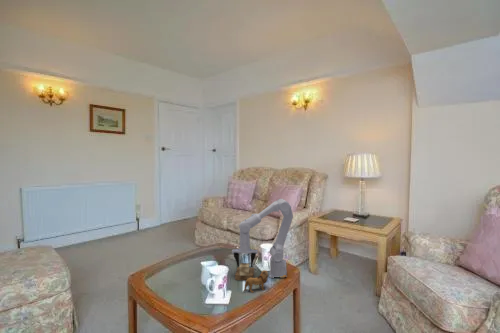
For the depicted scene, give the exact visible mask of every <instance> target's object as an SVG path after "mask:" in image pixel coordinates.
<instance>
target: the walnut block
mask: <svg viewBox="0 0 500 333" xmlns="http://www.w3.org/2000/svg"><path fill="white" fill-rule="evenodd" d="M249 271H250V272H249V276H240V266H239V267H238V266H237V268H236V271H235V273H234V278H235V279H234V280H235V281H247V279H248V278H255V267H249Z"/></svg>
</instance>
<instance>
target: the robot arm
mask: <svg viewBox="0 0 500 333" xmlns="http://www.w3.org/2000/svg"><path fill="white" fill-rule="evenodd" d="M273 212H275V213H276V212H277V213H279V212H280V213H281V214H282V216H283V217H282V219H281V220H282V221H281V224H280V227H279V230H278V233H277V236H276V239H275V241H274V242H273V245H272V246H271V247H270V249H269V254H270V255H271V257H270V258H269V269H270V270H269V278H270V279H273V278H274V277H278V276H283V275H286V276H287V272H288V271H287V260H286V259H284V250H285V248H284V245H285V242H286V240H287V236H288V235H289V234H288V233H289V230H290V227H291V224H292V221H293V218H294V215H293V209H292V205H291V204H290V202H289V201H287V200H285V199H284V198H278V199H276V200H274V201H273V202H272V203H271V204H269V205H268V206H267V207H266V208H264V209H263V210H261V211H260V212H259V213H252V214H251V215H250V216H249V217H248V218H247V219H246V218H245V219H244V220H242V221H241V222H240V223H239V224H238V228H239V248H236V249H235V248H233V249H232V250H231V254H232V255H233V257H234V259H235V262H236V265H237V267H240V255H241V254H243V255H250V268H253V265H254V264H253V263H254V260H255V258H256V255H258V253H259V252H258V249H251V248H250V247H251V246H250V245H251V244H250V241H251V240H250V239H251V238H250V237H251V236H250V231H251V229H253V228H254V227H255V226H257V225H258V224H260V223H261V222H262V219H264V218H265V217H267V216H268V215H270V214H271V213H273ZM274 279H275V278H274Z"/></svg>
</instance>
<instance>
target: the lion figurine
mask: <svg viewBox="0 0 500 333" xmlns="http://www.w3.org/2000/svg"><path fill="white" fill-rule="evenodd" d="M260 272H261V273H260V274H259V275H258V277H257V276H256V277H254V278H248V279H247V280H245V283H244V290H243V292H242V293H245V292H246V291H248V289H247V288H248V287H249V291H250V293H252V294H253V293H254V290H252V288H253V286H254V285H255V286H258V288H259V289H261V291H265V288H264V286H265V284H266V283H267V281H268V278H269V272H268V271H267V270H266V269H264V270H262V271H260Z"/></svg>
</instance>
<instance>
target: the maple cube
mask: <svg viewBox="0 0 500 333" xmlns="http://www.w3.org/2000/svg"><path fill="white" fill-rule="evenodd" d="M239 267H240V276H249V272H250V271H249V268H250V263H249V262H240V263H239Z"/></svg>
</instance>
